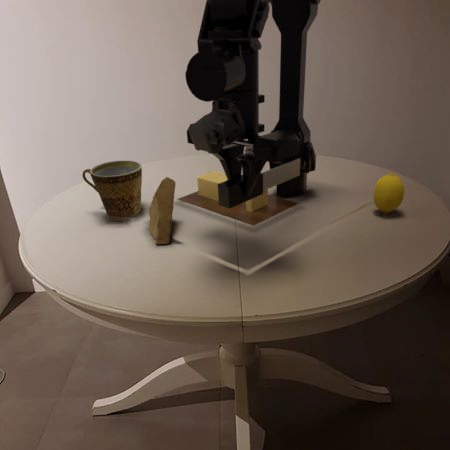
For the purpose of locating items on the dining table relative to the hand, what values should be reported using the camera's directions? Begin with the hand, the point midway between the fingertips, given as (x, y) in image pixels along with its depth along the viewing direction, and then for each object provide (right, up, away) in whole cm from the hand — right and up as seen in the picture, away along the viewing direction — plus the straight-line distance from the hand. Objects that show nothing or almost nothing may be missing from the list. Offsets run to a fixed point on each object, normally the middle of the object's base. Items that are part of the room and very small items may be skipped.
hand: (241, 193), depth 75 cm
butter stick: (-4, +5, +25) cm, 26 cm away
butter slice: (+4, +1, +19) cm, 19 cm away
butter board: (0, +3, +23) cm, 23 cm away
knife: (+4, +1, +4) cm, 6 cm away
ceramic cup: (-25, 0, +22) cm, 33 cm away
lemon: (+29, 0, +16) cm, 33 cm away
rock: (-15, -5, +13) cm, 21 cm away
